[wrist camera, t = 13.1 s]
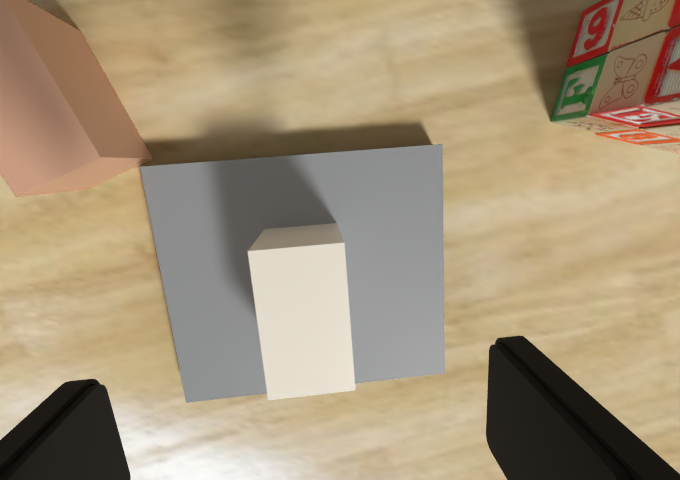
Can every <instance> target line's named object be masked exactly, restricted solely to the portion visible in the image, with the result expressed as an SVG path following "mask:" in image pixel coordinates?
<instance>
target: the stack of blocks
mask: <svg viewBox="0 0 680 480" xmlns="http://www.w3.org/2000/svg"><path fill="white" fill-rule="evenodd" d="M551 122H552V123H555V124H559V125H563V126H568V127H572V128H576V129H580V130H584V131H589V132H593V133H595V134H596V135H599V136H604V137H608V138H612V139H617V140H621V141H626V142H630V143H634V144H640V145H643V146H647V147H650V148H654V149H659V150H663V151H668V152H673V153H677V154H680V0H602V1H600V2H598V3H596V4H594V5H593V6H591V7H589V8H587V9H586V10H584V11H583V13H582V16H581V20H580V23H579V26H578V29H577V33H576V36H575V39H574V43H573V46H572V50H571V53H570V56H569V60H568V63H567V69H566V73H565V76H564V79H563V83H562V86H561V89H560V92H559V96H558V99H557V102H556V105H555V109H554V112H553V115H552V118H551Z"/></svg>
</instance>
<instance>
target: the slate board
mask: <svg viewBox="0 0 680 480" xmlns="http://www.w3.org/2000/svg"><path fill="white" fill-rule="evenodd" d="M140 170H141V175H142V180H143V185H144V190H145V195H146V200H147V205H148V211H149V216H150V221H151V226H152V231H153V236H154V241H155V246H156V251H157V256H158V261H159V267H160V272H161V277H162V282H163V287H164V292H165V297H166V302H167V307H168V312H169V317H170V323H171V328H172V333H173V338H174V343H175V348H176V353H177V358H178V363H179V368H180V373H181V379H182V384H183V389H184V394H185V399H186V403H187V402H195V401H204V400H213V399H222V398H231V397H240V396H248V395H257V394H266V393H267V389H266V382H265V374H264V367H263V360H262V352H261V345H260V338H259V331H258V323H257V316H256V309H255V302H254V294H253V287H252V280H251V272H250V265H249V258H248V250H249V249H250V247H251V246H252V245H253V244H254V242H255V241H256V240H257V238H258V237H259V236H260V234H261V233H262V232H263V231H264V229H273V228H284V227H296V226H307V225H319V224H330V223H337V225H338V227H339V230H340V232H341V235H342V237H343V240H344V242H345V256H346V269H347V282H348V296H349V309H350V323H351V336H352V350H353V363H354V377H355V383H363V382H372V381H381V380H390V379H399V378H408V377H416V376H425V375H434V374H443V373H445V359H444V260H443V161H442V144H437V145H423V146H410V147H397V148H383V149H370V150H356V151H343V152H330V153H316V154H303V155H290V156H276V157H263V158H250V159H236V160H223V161H210V162H196V163H183V164H169V165H156V166H143V167H140Z"/></svg>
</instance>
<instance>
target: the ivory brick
mask: <svg viewBox="0 0 680 480" xmlns="http://www.w3.org/2000/svg"><path fill="white" fill-rule="evenodd" d="M248 258H249V265H250V272H251V280H252V287H253V294H254V302H255V309H256V316H257V323H258V331H259V338H260V345H261V352H262V360H263V367H264V374H265V382H266V389H267V396H268V400H275V399H284V398H292V397H301V396H310V395H319V394H327V393H336V392H345V391H354V390H355V377H354V363H353V350H352V336H351V323H350V309H349V296H348V282H347V269H346V256H345V242H344V240H343V237H342V235H341V232H340V230H339V227H338V225H337V223H330V224H319V225H307V226H296V227H284V228H273V229H264V231H263V232H262V233H261V234H260V236H259V237H258V238H257V240H256V241H255V242H254V244H253V245H252V246H251V247H250V249H249V250H248Z"/></svg>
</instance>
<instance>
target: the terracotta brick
mask: <svg viewBox="0 0 680 480" xmlns="http://www.w3.org/2000/svg"><path fill="white" fill-rule="evenodd" d="M152 159H153V158H152V156H151V154H150V152H149V150H148V149H147V147H146V145H145V143H144V142H143V140H142V138H141V136H140V135H139V133H138V131H137V129H136V128H135V126H134V124H133V122H132V120H131V119H130V117H129V115H128V113H127V112H126V110H125V108H124V106H123V105H122V103H121V101H120V99H119V98H118V96H117V94H116V92H115V90H114V89H113V87H112V85H111V83H110V82H109V80H108V78H107V76H106V75H105V73H104V71H103V69H102V68H101V66H100V64H99V62H98V60H97V59H96V57H95V55H94V53H93V52H92V50H91V48H90V46H89V45H88V43H87V41H86V39H85V38H84V36H83V34H82V32H81V31H80V30H78V29H76V28H74V27H73V26H71V25H69V24H67V23H66V22H64V21H62V20H60V19H59V18H57V17H55V16H53V15H52V14H50V13H48V12H46V11H45V10H43V9H41V8H39V7H38V6H36V5H34V4H32V3H31V2H29V1H27V0H0V174H1V176H2V177H3V179H4V180H5V182H6V183H7V184H8V186H9V187H10V189H11V190H12V192H13V193H14V195H15V196H16V197H20V196H30V195H39V194H48V193H57V192H66V191H75V190H84V189H90V188H92V187H95V186H97V185H99V184H101V183H103V182H105V181H107V180H109V179H112V178H114V177H116V176H118V175H120V174H122V173H124V172H126V171H129V170H131V169H133V168H135V167H137V166H139V165H141V164H144V163H146V162H148V161H150V160H152Z"/></svg>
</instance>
